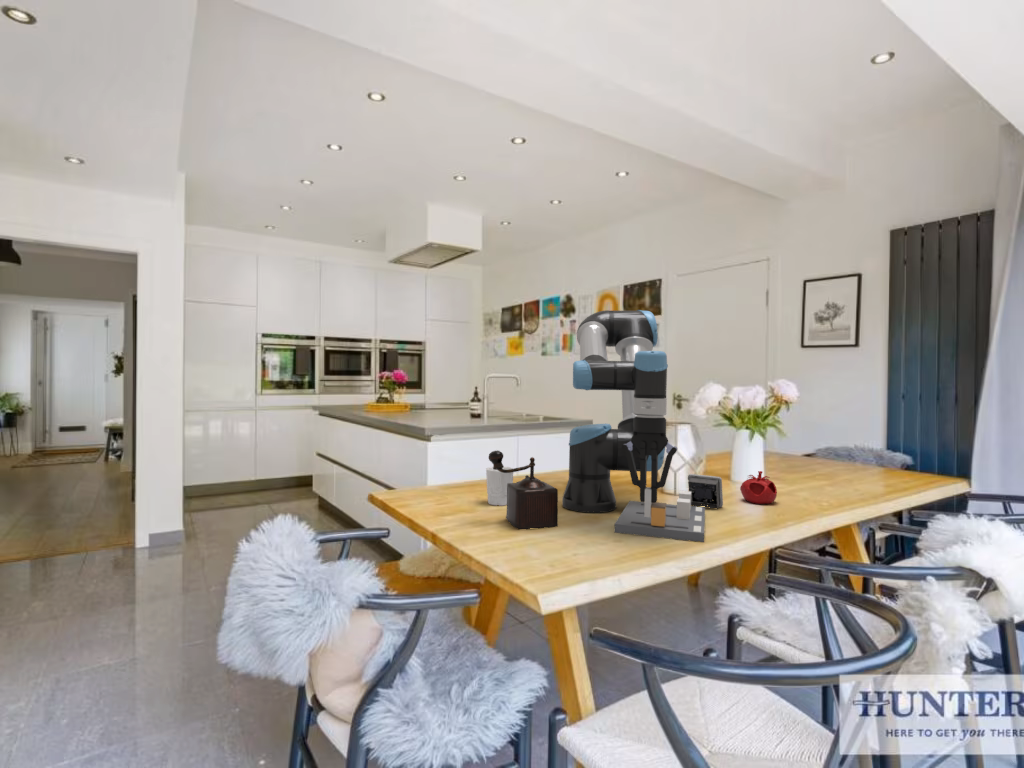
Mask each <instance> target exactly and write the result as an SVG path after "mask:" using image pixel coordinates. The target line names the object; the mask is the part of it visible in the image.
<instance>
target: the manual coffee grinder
mask: <svg viewBox="0 0 1024 768" xmlns="http://www.w3.org/2000/svg"><path fill="white" fill-rule="evenodd" d="M503 459H504V453H503V452H501V451H500V450H497V449H496V450H493V451H491V452H490V453H489V454H488V461H490V463H491V464H492V465H493V466H492V467H493V469H494V470H498V471H500V472H503V473H511V472H513V473H517V472H521V471H525V470H527V469H530V471H529V475H527V474H526V475H525V478H522V480H519V481H516V482H513V483H507V505H506V515H505V519H506V521H507V522H508V523H509V522H510V523H511V526H513V527H514V528H515V529H517V528H518V529H517V530H519V529H526V530H531V529H530V528H538V529H545V528H544V527H548V528H554V527H555V526H557V527H558V525H559V524H558V522H559V521H558V519H559V513H558V511H559V500H558V499H559V490H558V488H556V487H555V486H553V485H551V484H550V483H547V482H545V481H542V480H541V479H539V478H537V477H535V476H534V475H535V473H534V471H535V466H536V463H535V461H536V459H535V457H533V456H532V457H530V458H529V464H526V465H525V466H520V467H515V468H513V469H508V470H504V469H502V468H503V467H505V466H504V464H503ZM510 523H509V524H510ZM555 528H556V527H555Z"/></svg>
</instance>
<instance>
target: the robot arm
mask: <svg viewBox="0 0 1024 768" xmlns="http://www.w3.org/2000/svg"><path fill="white" fill-rule="evenodd" d="M576 340H577V343H578V345H579V360H575V361H574V362H573V363H572V387H573V388H574V389H576V390H582V391H583V390H585V391H621V405H622V406H621V407H622V408H621V410H622V419H621V420H620V421H619V422H618V423H617V428H612V425H611V424H610V423H595V424H592V423H591V424H585V425H579V426H576V427H573V428H572V429H571V430H570V432H569V442H568V446H569V449H568V450H569V452H568V453H569V456H568V457H569V458H568V480H567V482H566V486H565V488H564V492H563V496H562V500H561V501H562V507H563V508H565V509H566V510H569V511H575V512H581V513H607V512H612V511H614V510H616V508H617V498H616V495H615V492H614V489H613V485H612V482H611V471H619V472H620V471H621V472H623V471H624V472H629V475H630V479H631V484H632V485H633V486H636V487H638V488H639V502H645V508H644V517H651V505H652V503H656V502H658V501H657V500H658V489H661V488H665V485H666V482H667V479H668V476H669V472H670V468H671V464H672V460H673V457H674V456H675V454H676V453H677V451H678V447H677V446H675V445H672V444H671V443H670V442H669V439H668V437H667V418H666V417H664V416H666V415H667V399H668V398H667V381H668V367H669V366H668V356H667V353H666V352H665V351H661V350H653V348H655V347H656V345H657V344H658V324H657V319H656V317H655V315H654V313H653V312H651V311H649V310H641V309H637V310H610V309H608V310H600V311H597V312H595V313H594V312H593V313H592V314H591V315H589V316H587V317H585V318H584V319H583V320H582V321H581V323H580V324H579V325H578V328H577V330H576ZM607 347H613V348H614V349H615V350H614V351H615V352H616V354H617V355H618V356H620V360H609V359H608V351H607ZM665 452H666V454H667V455H666V457H665ZM664 459H665V460H664ZM662 466H663V468H662ZM661 468H662V472H661V476H660V478H658V474H659V470H660V469H661ZM638 472H639V476H638ZM647 472H651V473H650V475H651V476H650V480H651V482H650V487H648V486H647V485H648V484H647V477H648V476H647ZM659 479H660V480H659Z"/></svg>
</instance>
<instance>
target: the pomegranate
mask: <svg viewBox="0 0 1024 768" xmlns="http://www.w3.org/2000/svg"><path fill="white" fill-rule="evenodd" d="M762 474H763V471H758V474H757V475H756V476H757V477H756V476H755V475H753V474H749V475H748V478H747V479H746V480H744V481H743V482H741V485H740V488H739V489H740V493H741V495H742V497H743V499H745V500H746V501H747V502H748V503H751V504H759V505H765V504H767V505H768V504H769V505H770V504H772V503H774V502H775V500H776V499H777V494H778V490H777V487H776V485H775V483H774V482H773V481H772V480H770V479H769V478H770V477H771V476H767V475H764V476H762Z"/></svg>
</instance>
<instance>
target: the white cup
mask: <svg viewBox="0 0 1024 768" xmlns="http://www.w3.org/2000/svg"><path fill="white" fill-rule="evenodd" d="M485 469H486V470H485V471H486V473H485V474H486V493H487V503H488V505H491V506H497V505H499V506H507V483H514V472H511V473H503V472H500V471H498V470H494V469H493V466H490V467H487V468H485ZM502 469H504V470H508V469H514V468H513V467H509V466H504V467H503V468H502ZM499 506H498V507H499Z"/></svg>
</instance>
